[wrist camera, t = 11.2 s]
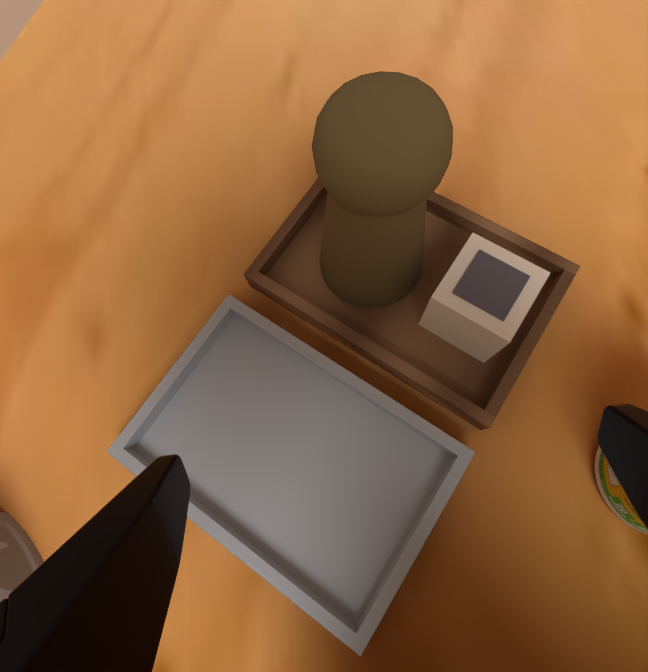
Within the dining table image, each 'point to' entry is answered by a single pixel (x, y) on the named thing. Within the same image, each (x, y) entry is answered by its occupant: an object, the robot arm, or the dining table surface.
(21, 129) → the dining table surface
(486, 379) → the walnut tray
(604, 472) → the supplement bottle
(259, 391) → the grey tray
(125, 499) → the robot arm
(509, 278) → the beige and grey cube
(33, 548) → the dog bowl
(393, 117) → the brown rounded upright piece
